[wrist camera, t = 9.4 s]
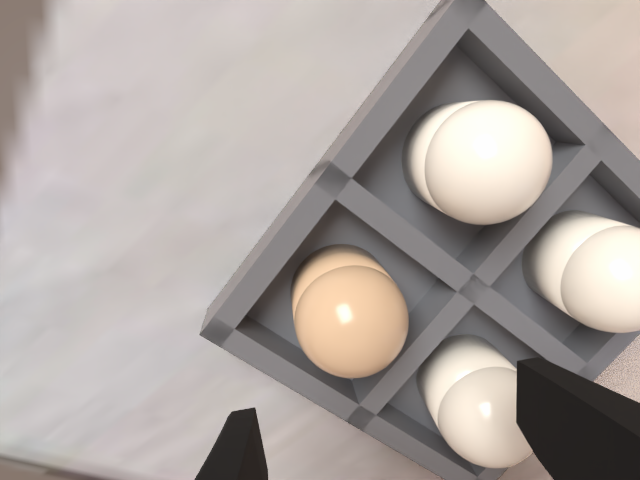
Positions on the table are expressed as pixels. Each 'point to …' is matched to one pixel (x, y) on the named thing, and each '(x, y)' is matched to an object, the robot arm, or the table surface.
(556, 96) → the egg tray
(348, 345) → the tan egg
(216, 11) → the table surface
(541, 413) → the robot arm
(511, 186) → the cream egg
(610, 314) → the cream egg
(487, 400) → the cream egg
